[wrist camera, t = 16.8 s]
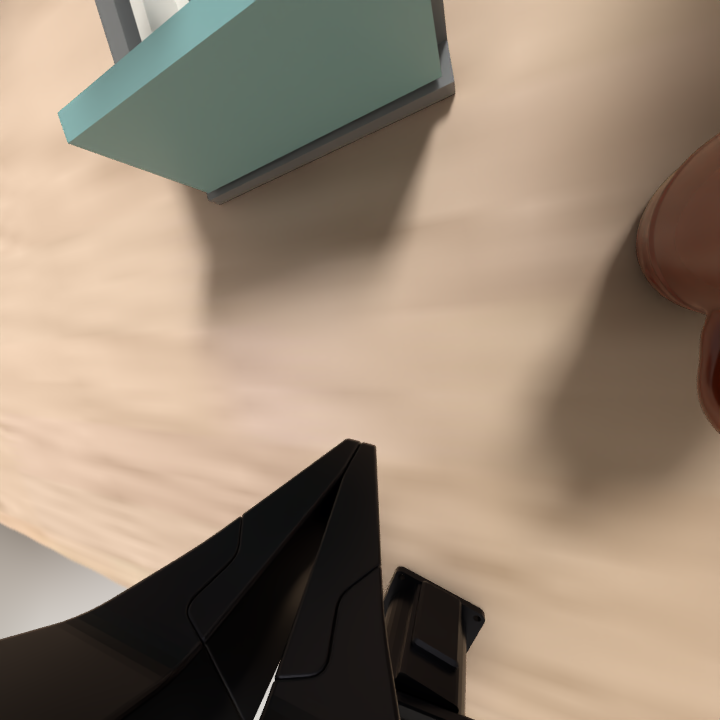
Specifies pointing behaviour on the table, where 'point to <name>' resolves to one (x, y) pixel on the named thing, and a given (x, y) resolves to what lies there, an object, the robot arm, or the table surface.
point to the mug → (689, 256)
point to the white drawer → (248, 81)
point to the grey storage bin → (126, 37)
